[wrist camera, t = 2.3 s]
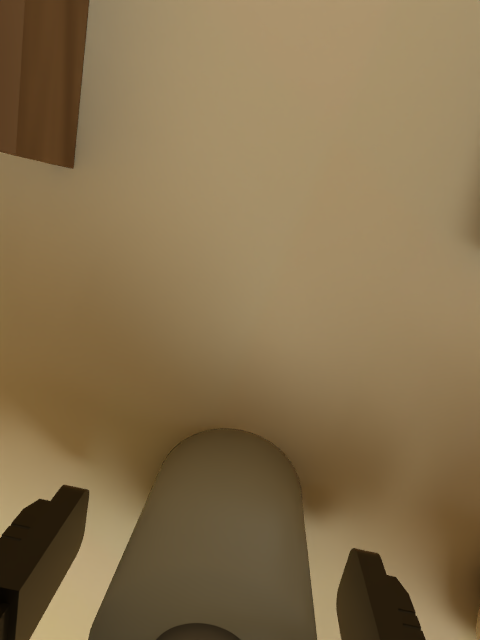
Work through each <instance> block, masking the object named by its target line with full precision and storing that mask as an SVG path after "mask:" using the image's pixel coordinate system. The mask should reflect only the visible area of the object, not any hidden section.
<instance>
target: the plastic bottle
mask: <svg viewBox="0 0 480 640" xmlns="http://www.w3.org/2000/svg"><path fill="white" fill-rule="evenodd" d="M476 636H477V640H480V606H479V611H478V616H477V624H476Z"/></svg>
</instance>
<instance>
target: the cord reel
mask: <svg viewBox="0 0 480 640" xmlns="http://www.w3.org/2000/svg"><path fill="white" fill-rule="evenodd" d="M88 640H317V634H316V625H315V616H314V607H313V597H312V588H311V579H310V570H309V561H308V551H307V542H306V533H305V524H304V515H303V505H302V496H301V487H300V482H299V479H298V476H297V473H296V471H295V469H294V467H293V465H292V464H291V462H290V461H289V459H288V458H287V457H286V456H285V454H284V453H283V452H282V451H281V450H280V449H278V448H277V447H276V446H275V445H273V444H272V443H271V442H269V441H267V440H266V439H264V438H262V437H260V436H258V435H255V434H253V433H250V432H246V431H242V430H236V429H213V430H208V431H204V432H201V433H198V434H195V435H193V436H191V437H189V438H187V439H185V440H184V441H182V442H181V443H180V444H178V445H177V446H176V447H175V448H174V449H173V450H172V451H171V452H170V453H169V455H168V456H167V457H166V459H165V461H164V462H163V464H162V467H161V469H160V471H159V473H158V476H157V478H156V480H155V483H154V485H153V487H152V489H151V492H150V494H149V496H148V498H147V501H146V503H145V505H144V508H143V510H142V512H141V514H140V517H139V519H138V521H137V524H136V526H135V528H134V530H133V533H132V535H131V537H130V540H129V542H128V544H127V546H126V549H125V551H124V553H123V556H122V558H121V560H120V562H119V565H118V567H117V569H116V572H115V574H114V576H113V578H112V581H111V583H110V585H109V588H108V590H107V592H106V594H105V597H104V599H103V601H102V604H101V606H100V608H99V610H98V613H97V615H96V617H95V620H94V622H93V624H92V627H91V630H90V634H89V638H88Z"/></svg>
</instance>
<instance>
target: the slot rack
mask: <svg viewBox="0 0 480 640" xmlns="http://www.w3.org/2000/svg"><path fill="white" fill-rule="evenodd" d="M88 6H89V0H0V152H3V153H7V154H11V155H15V156H20V157H24V158H28V159H32V160H36V161H41V162H45V163H49V164H53V165H58V166H63V167H68V168H73V167H74V157H75V146H76V135H77V124H78V114H79V103H80V92H81V81H82V71H83V60H84V49H85V38H86V28H87V17H88Z"/></svg>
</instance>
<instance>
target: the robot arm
mask: <svg viewBox="0 0 480 640" xmlns="http://www.w3.org/2000/svg"><path fill="white" fill-rule="evenodd" d="M88 500H89V490H87V489H82V488H77V487H73V486H68V485H63V486H62V487H61V488H60V489H59V490H58V492H57V493H56V494H55V496H54V497H53V498H52V500H51V501H48V500H43V499H39V500H37V501H36V502H34V503H32V504H31V505H29V506H28V507H26V508H24V509H23V510H22V511H21V512H20V514H19V515H18V516H17V517H16V518H15V520H14V521H13V522H12V524H11V526H9V527H8V528H7V529H6V531H5V532H4V533H3V534H2V537H1V538H0V640H29V639H30V637H31V636H32V634H33V632H34V630H35V629H36V627H37V625H38V623H39V621H40V620H41V618H42V616H43V614H44V612H45V611H46V609H47V607H48V605H49V604H50V602H51V600H52V598H53V596H54V595H55V593H56V591H57V589H58V587H59V586H60V584H61V582H62V580H63V578H64V577H65V575H66V573H67V571H68V570H69V568H70V566H71V564H72V562H73V561H74V559H75V557H76V555H77V553H78V551H79V549H80V546H81V543H82V540H83V536H84V531H85V523H86V516H87V508H88ZM336 607H337V616H338V622H339V628H340V633H341V639H342V640H425V637H424V634H423V631H421V626H420V623H419V621H418V618H417V616H415V610H414V607H413V605H412V602H411V599H410V596H409V594H408V593H407V591H406V590H405V589H404V587H403V586H402V585H401V583H400V582H399V581H398V579H397V578H396V577H393V576H389V575H386V572H385V569H384V566H383V563H382V560H381V557H380V555H379V554H378V553H374V552H369V551H364V550H360V549H355V548H353V549H352V550H351V551H350V554H349V557H348V560H347V563H346V566H345V569H344V572H343V575H342V578H341V581H340V584H339V588H338V592H337V602H336Z"/></svg>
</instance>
